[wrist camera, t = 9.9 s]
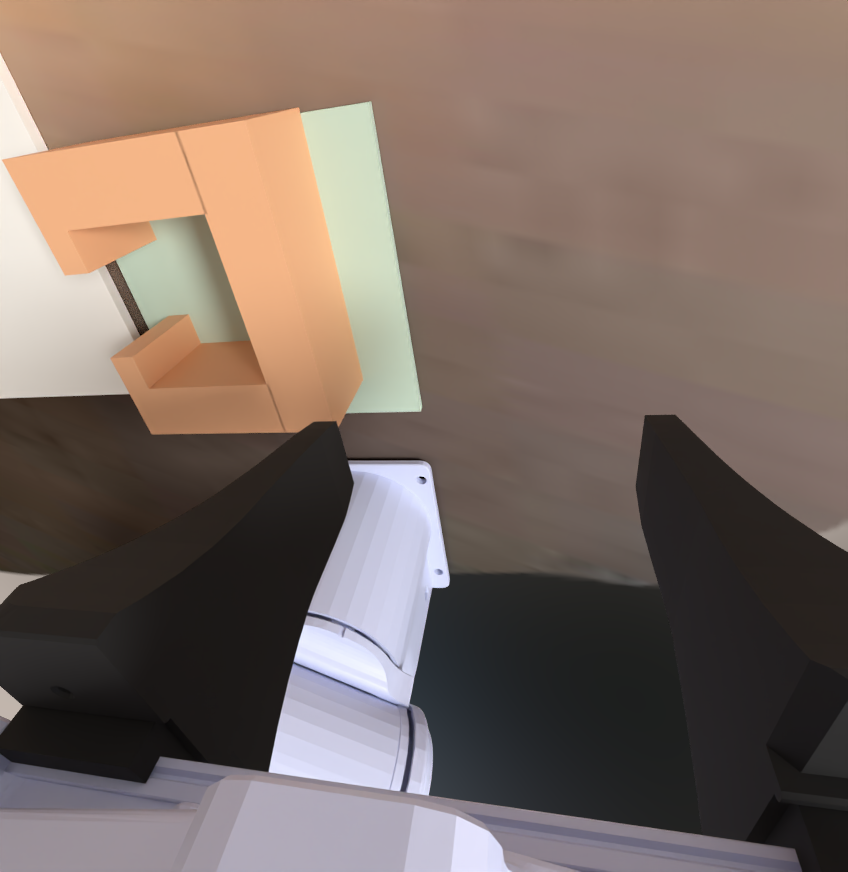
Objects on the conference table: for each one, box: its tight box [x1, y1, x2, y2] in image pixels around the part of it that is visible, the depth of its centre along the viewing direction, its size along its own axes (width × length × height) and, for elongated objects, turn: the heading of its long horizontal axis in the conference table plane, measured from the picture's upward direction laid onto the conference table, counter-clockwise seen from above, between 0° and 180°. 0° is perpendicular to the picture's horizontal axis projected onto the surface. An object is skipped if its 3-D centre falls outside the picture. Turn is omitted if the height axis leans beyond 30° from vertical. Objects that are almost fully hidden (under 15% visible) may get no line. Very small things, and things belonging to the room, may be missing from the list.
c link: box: [2, 107, 363, 434], centre depth 19 cm, size 8×10×4 cm
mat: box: [116, 101, 422, 413], centre depth 22 cm, size 12×12×1 cm
